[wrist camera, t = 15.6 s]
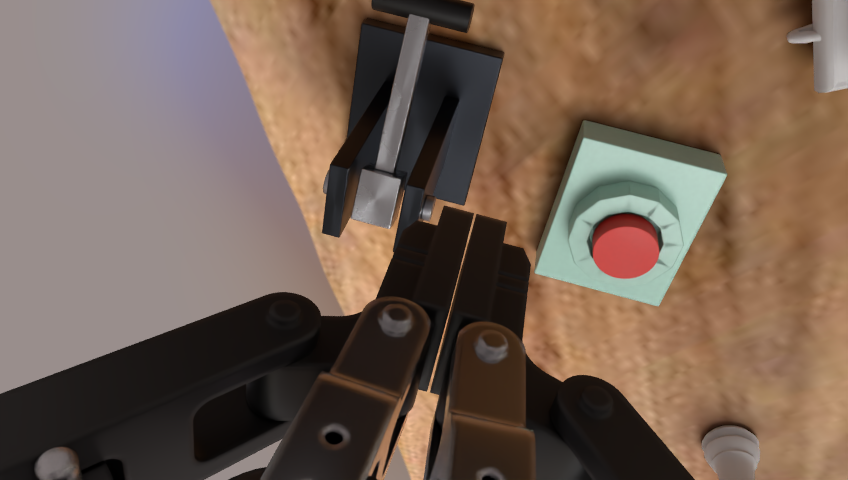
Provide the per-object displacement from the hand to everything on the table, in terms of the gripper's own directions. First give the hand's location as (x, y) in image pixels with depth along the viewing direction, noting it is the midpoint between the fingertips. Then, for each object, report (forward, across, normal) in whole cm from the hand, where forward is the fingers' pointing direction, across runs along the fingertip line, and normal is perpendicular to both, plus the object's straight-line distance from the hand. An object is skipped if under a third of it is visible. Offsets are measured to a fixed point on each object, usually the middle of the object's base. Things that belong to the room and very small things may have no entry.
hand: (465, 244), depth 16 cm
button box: (+29, -10, +14) cm, 34 cm away
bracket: (+29, +5, +11) cm, 31 cm away
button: (+25, -10, +14) cm, 30 cm away
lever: (+21, +5, +7) cm, 22 cm away
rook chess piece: (+29, -26, +33) cm, 51 cm away
